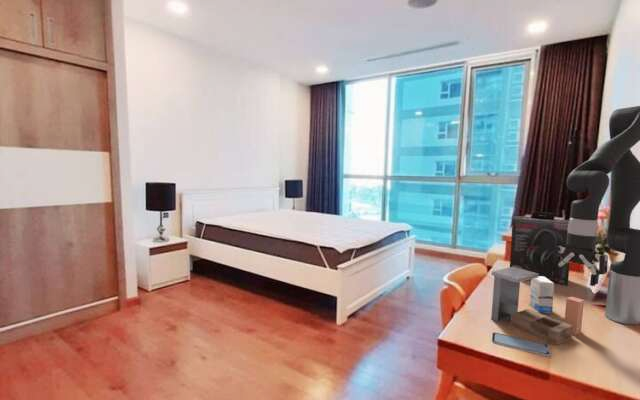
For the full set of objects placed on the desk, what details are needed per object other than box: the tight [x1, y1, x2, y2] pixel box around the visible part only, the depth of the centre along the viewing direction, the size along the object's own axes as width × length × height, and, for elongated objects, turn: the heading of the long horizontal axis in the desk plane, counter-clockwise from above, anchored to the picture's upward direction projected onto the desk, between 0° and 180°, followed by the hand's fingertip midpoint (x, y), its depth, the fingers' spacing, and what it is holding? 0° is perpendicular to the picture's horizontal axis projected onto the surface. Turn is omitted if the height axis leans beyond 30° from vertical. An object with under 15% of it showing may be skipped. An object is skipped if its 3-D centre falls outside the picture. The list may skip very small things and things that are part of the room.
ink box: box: [528, 276, 555, 314], centre depth 128 cm, size 9×5×12 cm, turn 168°
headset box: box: [509, 211, 571, 286], centre depth 164 cm, size 25×12×33 cm, turn 54°
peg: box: [563, 296, 585, 335], centre depth 110 cm, size 4×4×11 cm
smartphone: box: [491, 332, 551, 357], centre depth 101 cm, size 7×1×15 cm
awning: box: [490, 266, 539, 323], centre depth 117 cm, size 13×9×17 cm
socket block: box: [509, 308, 573, 346], centre depth 109 cm, size 10×14×4 cm
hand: (576, 281), depth 109 cm, fingers open, 8 cm apart
